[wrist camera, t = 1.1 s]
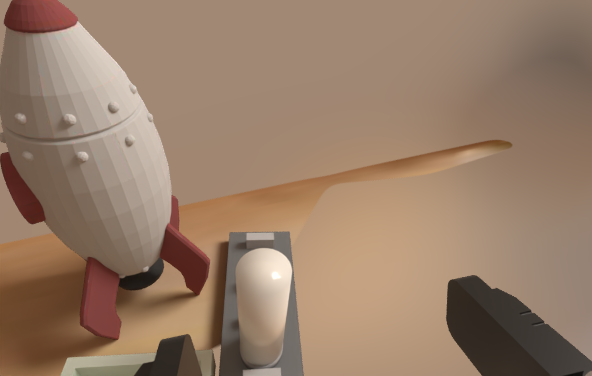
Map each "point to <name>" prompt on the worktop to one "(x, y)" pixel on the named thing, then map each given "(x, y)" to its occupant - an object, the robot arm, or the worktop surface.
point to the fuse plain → (262, 306)
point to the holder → (231, 366)
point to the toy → (88, 160)
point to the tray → (126, 364)
